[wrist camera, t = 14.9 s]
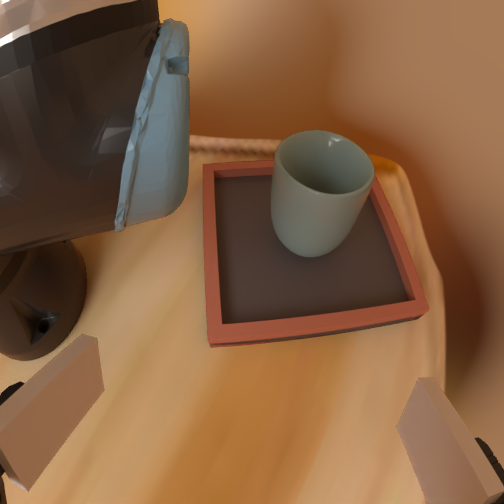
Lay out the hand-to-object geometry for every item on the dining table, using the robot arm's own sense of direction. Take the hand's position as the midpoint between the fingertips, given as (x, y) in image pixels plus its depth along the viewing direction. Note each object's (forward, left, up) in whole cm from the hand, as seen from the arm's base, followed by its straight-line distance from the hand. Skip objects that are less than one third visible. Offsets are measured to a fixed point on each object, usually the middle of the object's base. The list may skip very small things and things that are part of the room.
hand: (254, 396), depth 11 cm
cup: (-16, +7, -13) cm, 22 cm away
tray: (-16, +7, -14) cm, 23 cm away
